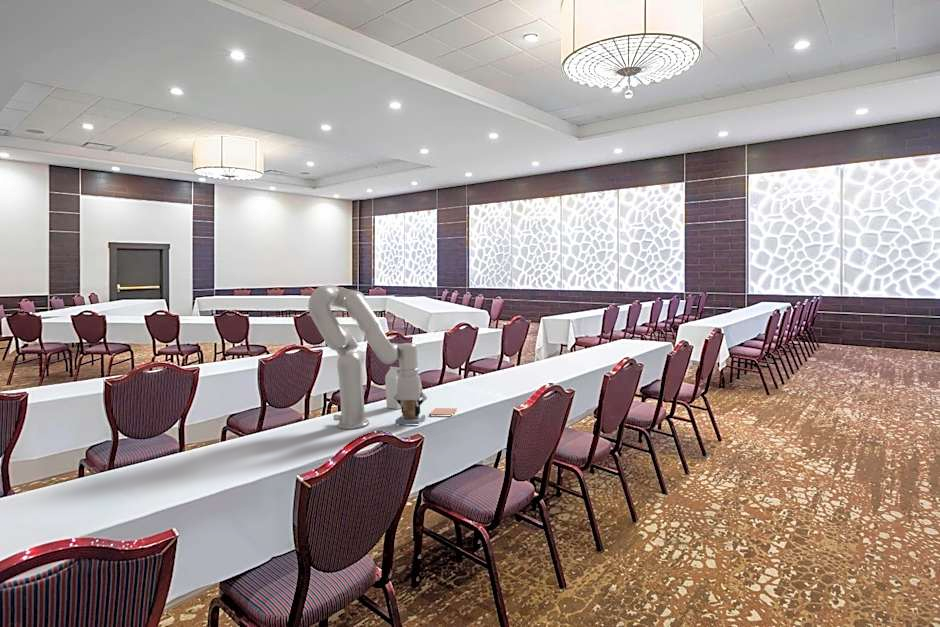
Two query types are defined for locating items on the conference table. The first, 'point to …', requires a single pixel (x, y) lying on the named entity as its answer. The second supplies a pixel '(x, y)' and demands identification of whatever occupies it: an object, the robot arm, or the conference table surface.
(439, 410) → the terracotta tile
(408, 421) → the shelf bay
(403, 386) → the robot arm
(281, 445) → the conference table surface
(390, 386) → the milk carton
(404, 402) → the walnut block
